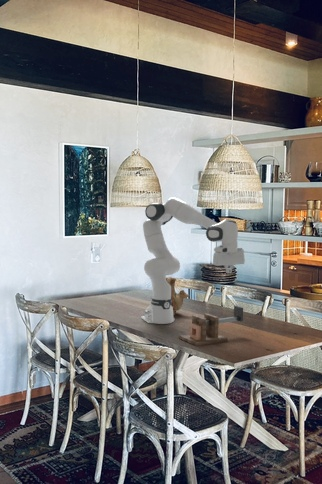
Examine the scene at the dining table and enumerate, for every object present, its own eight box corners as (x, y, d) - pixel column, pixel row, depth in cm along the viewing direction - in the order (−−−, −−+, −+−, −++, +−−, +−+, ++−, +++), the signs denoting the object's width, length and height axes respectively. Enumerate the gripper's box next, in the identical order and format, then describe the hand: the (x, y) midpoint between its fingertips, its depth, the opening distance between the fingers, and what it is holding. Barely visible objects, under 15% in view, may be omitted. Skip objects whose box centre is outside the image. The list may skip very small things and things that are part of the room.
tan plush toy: (189, 314, 337) (190, 276, 335) (168, 318, 325) (168, 278, 323) (170, 310, 351) (171, 273, 349) (149, 313, 338) (149, 275, 336)
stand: (179, 338, 278) (179, 315, 277) (209, 334, 288) (210, 311, 287) (196, 345, 264) (197, 321, 263) (227, 340, 275) (228, 317, 274)
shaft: (199, 323, 278) (199, 309, 278) (235, 319, 291) (236, 305, 290) (206, 326, 273) (206, 312, 272) (242, 321, 286) (243, 307, 285)
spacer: (189, 336, 276) (190, 323, 276) (193, 336, 277) (193, 323, 277) (197, 339, 270) (197, 326, 270) (200, 339, 271) (200, 326, 271)
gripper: (240, 247, 302) (239, 271, 303) (211, 248, 291) (211, 273, 292) (247, 248, 296) (246, 272, 297) (218, 249, 286) (218, 274, 287)
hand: (228, 272), depth 295 cm, fingers closed
